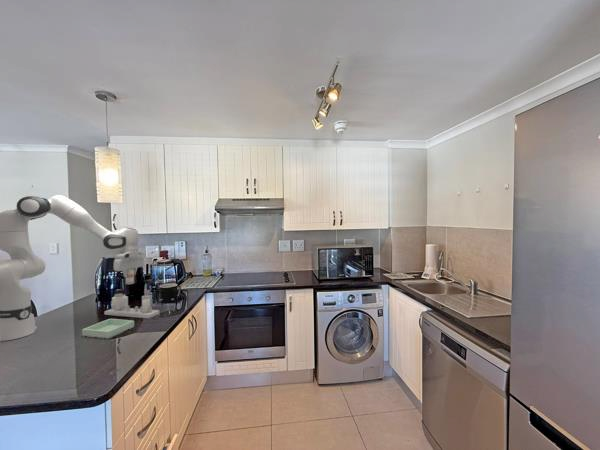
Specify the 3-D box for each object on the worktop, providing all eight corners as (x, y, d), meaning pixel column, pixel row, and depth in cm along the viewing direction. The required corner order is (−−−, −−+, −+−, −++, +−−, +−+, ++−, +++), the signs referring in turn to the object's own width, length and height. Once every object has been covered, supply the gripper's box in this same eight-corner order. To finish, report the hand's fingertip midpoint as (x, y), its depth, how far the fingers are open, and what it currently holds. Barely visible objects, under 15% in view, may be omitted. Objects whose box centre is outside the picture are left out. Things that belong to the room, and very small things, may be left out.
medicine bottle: (128, 306, 186) (128, 289, 186) (116, 309, 180) (116, 291, 180) (123, 305, 190) (123, 288, 190) (111, 307, 184) (111, 290, 183)
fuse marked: (123, 284, 166) (123, 268, 166) (129, 282, 171) (129, 266, 171) (130, 284, 165) (130, 268, 165) (136, 282, 170) (135, 266, 170)
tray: (82, 336, 137) (82, 329, 137) (109, 324, 153) (109, 318, 153) (108, 339, 134) (108, 331, 134) (134, 326, 150) (134, 320, 150)
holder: (104, 314, 170) (104, 306, 170) (116, 310, 179) (116, 302, 179) (149, 318, 164) (149, 310, 164) (159, 313, 173) (159, 305, 172)
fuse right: (139, 312, 167) (140, 296, 167) (145, 310, 172) (145, 294, 172) (146, 313, 167) (146, 297, 166) (151, 311, 171) (151, 295, 171)
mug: (161, 298, 206) (161, 283, 206) (183, 298, 208) (183, 282, 208) (152, 305, 190) (152, 288, 190) (176, 304, 192) (176, 287, 192)
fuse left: (112, 310, 171) (112, 294, 171) (118, 308, 176) (118, 293, 176) (118, 311, 170) (118, 295, 170) (124, 308, 175) (124, 293, 175)
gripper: (138, 252, 179) (138, 272, 179) (111, 255, 159) (111, 279, 159) (146, 252, 178) (146, 273, 178) (120, 255, 158) (120, 279, 158)
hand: (129, 276), depth 168 cm, fingers closed on fuse marked, 5 cm apart
